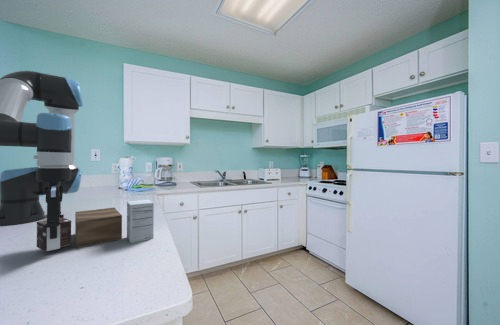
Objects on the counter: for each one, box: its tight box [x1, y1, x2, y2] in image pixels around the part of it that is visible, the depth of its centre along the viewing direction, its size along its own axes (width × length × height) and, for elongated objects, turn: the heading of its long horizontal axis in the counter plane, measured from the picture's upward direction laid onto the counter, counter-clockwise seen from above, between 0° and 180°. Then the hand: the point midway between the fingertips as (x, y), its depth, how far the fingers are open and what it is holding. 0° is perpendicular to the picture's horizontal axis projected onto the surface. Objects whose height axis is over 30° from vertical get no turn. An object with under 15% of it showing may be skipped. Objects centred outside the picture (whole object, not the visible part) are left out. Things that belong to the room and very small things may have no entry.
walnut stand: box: [74, 207, 123, 249], centre depth 74 cm, size 16×12×8 cm
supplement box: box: [126, 199, 155, 244], centre depth 73 cm, size 7×7×13 cm
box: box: [36, 217, 72, 252], centre depth 62 cm, size 6×6×7 cm
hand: (54, 244), depth 62 cm, fingers closed on box, 8 cm apart
